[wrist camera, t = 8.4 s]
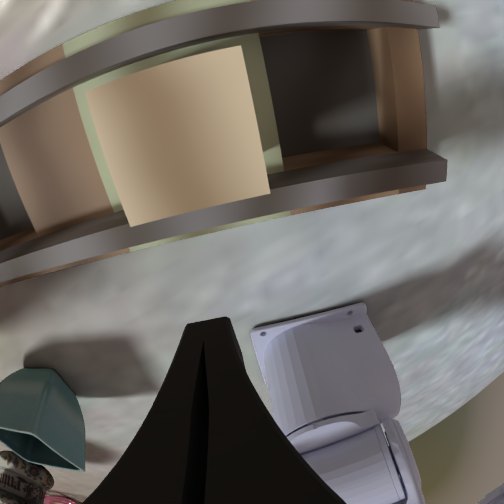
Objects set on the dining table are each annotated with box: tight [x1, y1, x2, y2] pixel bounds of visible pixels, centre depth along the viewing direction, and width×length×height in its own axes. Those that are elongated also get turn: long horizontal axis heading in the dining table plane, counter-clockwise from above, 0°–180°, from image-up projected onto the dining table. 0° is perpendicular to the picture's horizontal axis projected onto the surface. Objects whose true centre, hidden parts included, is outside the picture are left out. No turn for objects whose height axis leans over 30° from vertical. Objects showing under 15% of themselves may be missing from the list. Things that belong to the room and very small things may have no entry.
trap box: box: [0, 0, 447, 286], centre depth 14 cm, size 32×12×4 cm, turn 101°
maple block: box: [85, 45, 270, 227], centre depth 11 cm, size 5×5×5 cm
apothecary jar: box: [0, 451, 54, 504], centre depth 31 cm, size 12×12×18 cm
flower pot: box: [0, 368, 85, 472], centre depth 23 cm, size 9×9×9 cm
